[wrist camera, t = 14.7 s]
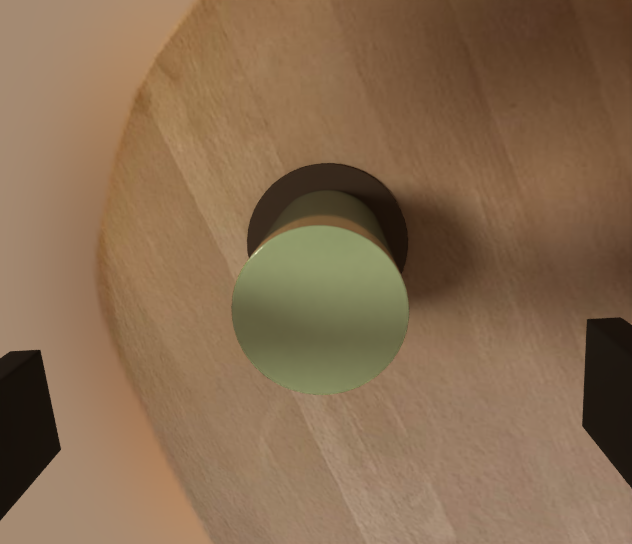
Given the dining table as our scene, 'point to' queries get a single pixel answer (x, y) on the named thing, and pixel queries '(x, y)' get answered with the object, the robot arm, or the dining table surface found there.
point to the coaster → (336, 180)
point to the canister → (321, 297)
